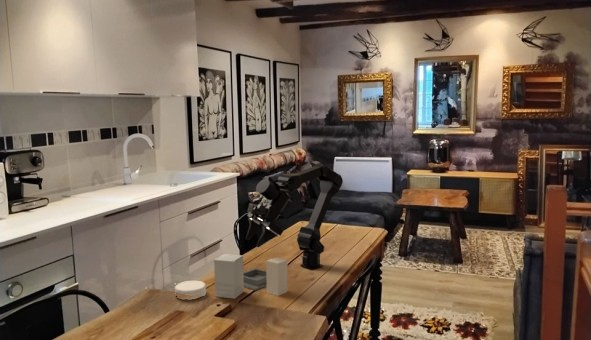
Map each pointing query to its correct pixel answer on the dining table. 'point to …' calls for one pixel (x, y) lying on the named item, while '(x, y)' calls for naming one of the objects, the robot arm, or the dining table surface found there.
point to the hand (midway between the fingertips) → (251, 243)
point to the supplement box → (229, 276)
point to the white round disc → (191, 288)
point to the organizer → (255, 279)
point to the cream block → (277, 276)
